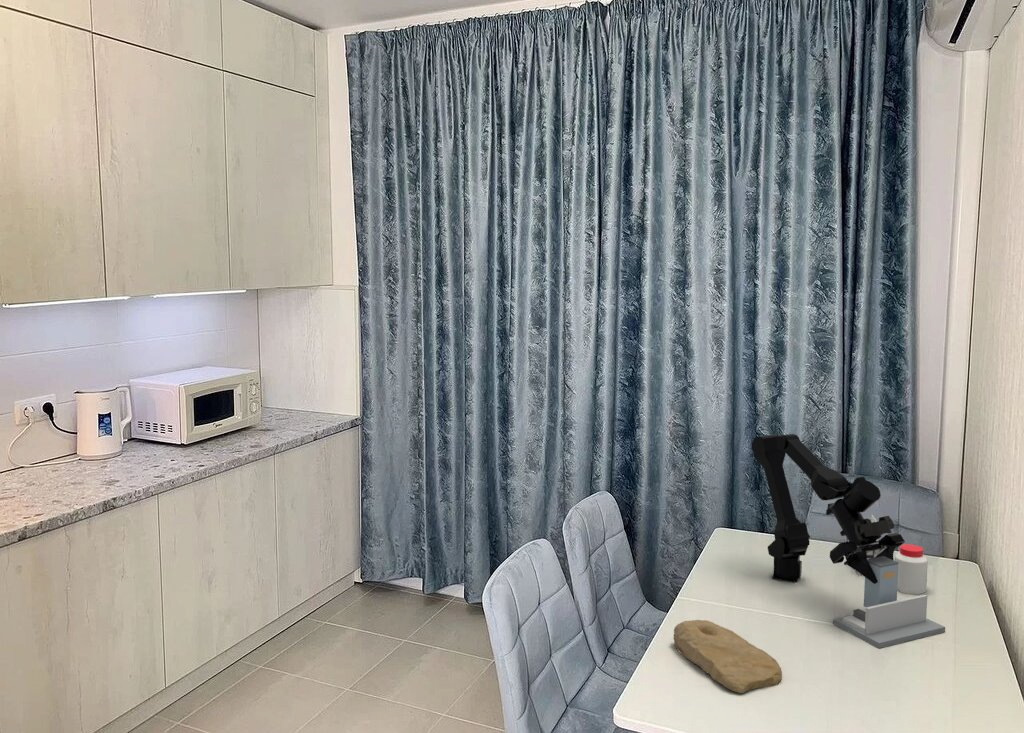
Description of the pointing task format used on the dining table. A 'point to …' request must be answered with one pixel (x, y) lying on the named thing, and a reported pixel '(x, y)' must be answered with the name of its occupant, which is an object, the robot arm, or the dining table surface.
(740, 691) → the stone
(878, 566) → the block
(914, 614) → the grey holder stand
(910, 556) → the pill bottle
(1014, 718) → the dining table surface
